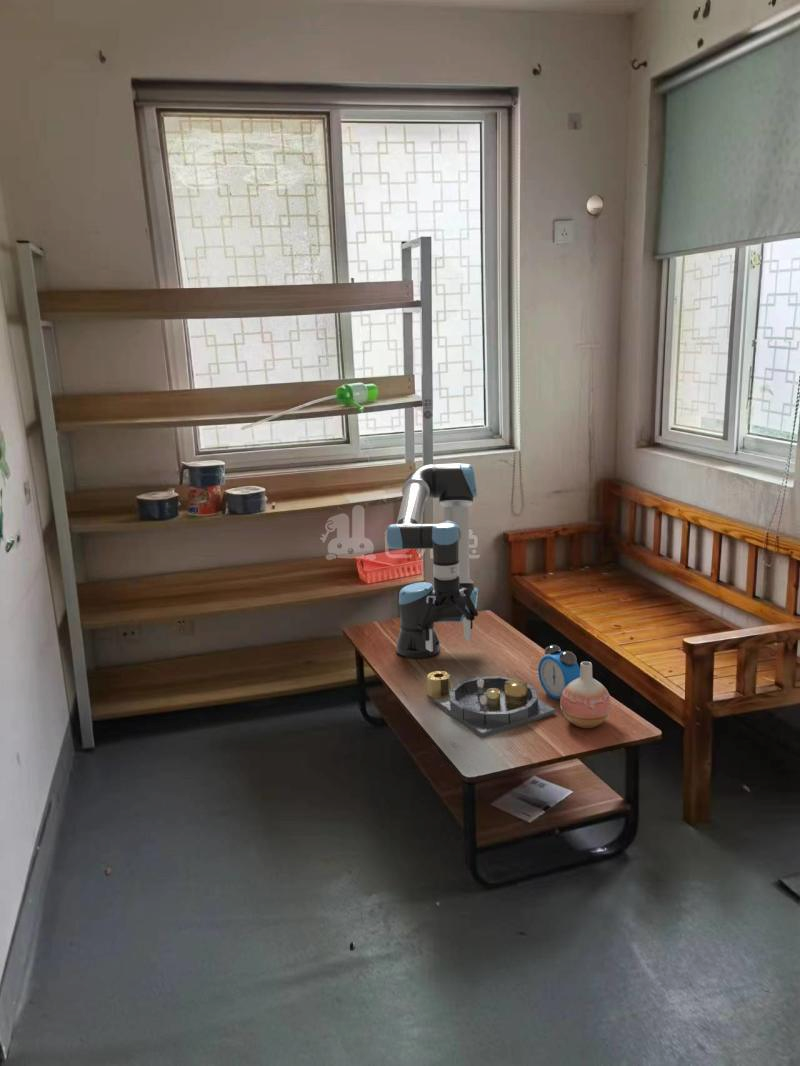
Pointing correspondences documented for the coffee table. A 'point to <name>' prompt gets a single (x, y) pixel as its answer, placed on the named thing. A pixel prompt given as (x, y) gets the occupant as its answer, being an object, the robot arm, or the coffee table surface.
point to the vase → (585, 699)
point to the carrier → (494, 704)
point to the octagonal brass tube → (438, 684)
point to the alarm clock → (557, 670)
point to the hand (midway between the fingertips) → (448, 645)
